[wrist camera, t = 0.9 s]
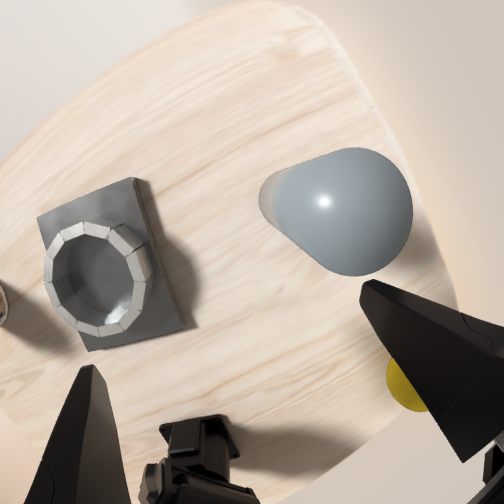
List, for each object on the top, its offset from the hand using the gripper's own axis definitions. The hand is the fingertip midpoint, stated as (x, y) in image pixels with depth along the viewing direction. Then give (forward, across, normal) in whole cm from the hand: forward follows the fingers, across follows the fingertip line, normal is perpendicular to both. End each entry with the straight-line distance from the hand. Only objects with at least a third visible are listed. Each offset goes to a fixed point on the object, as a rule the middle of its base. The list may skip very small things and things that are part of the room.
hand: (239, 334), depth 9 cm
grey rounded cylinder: (+13, -8, +2) cm, 16 cm away
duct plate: (+15, +6, +6) cm, 18 cm away
